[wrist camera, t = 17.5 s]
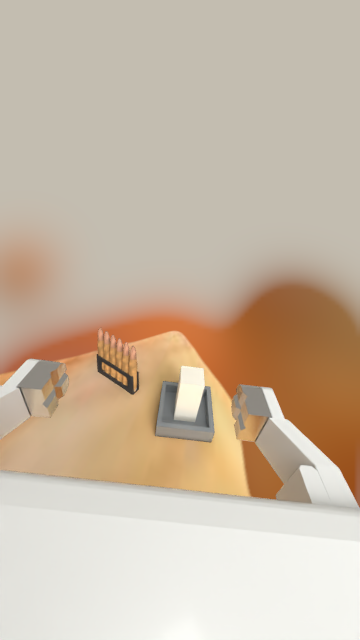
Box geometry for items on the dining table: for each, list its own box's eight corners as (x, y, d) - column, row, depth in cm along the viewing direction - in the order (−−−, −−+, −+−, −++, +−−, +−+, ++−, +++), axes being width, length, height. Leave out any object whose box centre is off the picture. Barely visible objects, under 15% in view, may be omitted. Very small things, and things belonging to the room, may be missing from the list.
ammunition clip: (138, 389, 47) (140, 345, 40) (132, 395, 45) (133, 350, 39) (104, 366, 51) (100, 323, 45) (97, 371, 49) (93, 327, 43)
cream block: (173, 419, 41) (180, 383, 35) (175, 401, 44) (181, 365, 39) (194, 422, 41) (204, 386, 36) (194, 404, 44) (203, 368, 39)
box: (155, 435, 38) (156, 425, 37) (161, 390, 47) (162, 381, 45) (210, 442, 39) (214, 432, 37) (207, 396, 47) (210, 386, 46)
